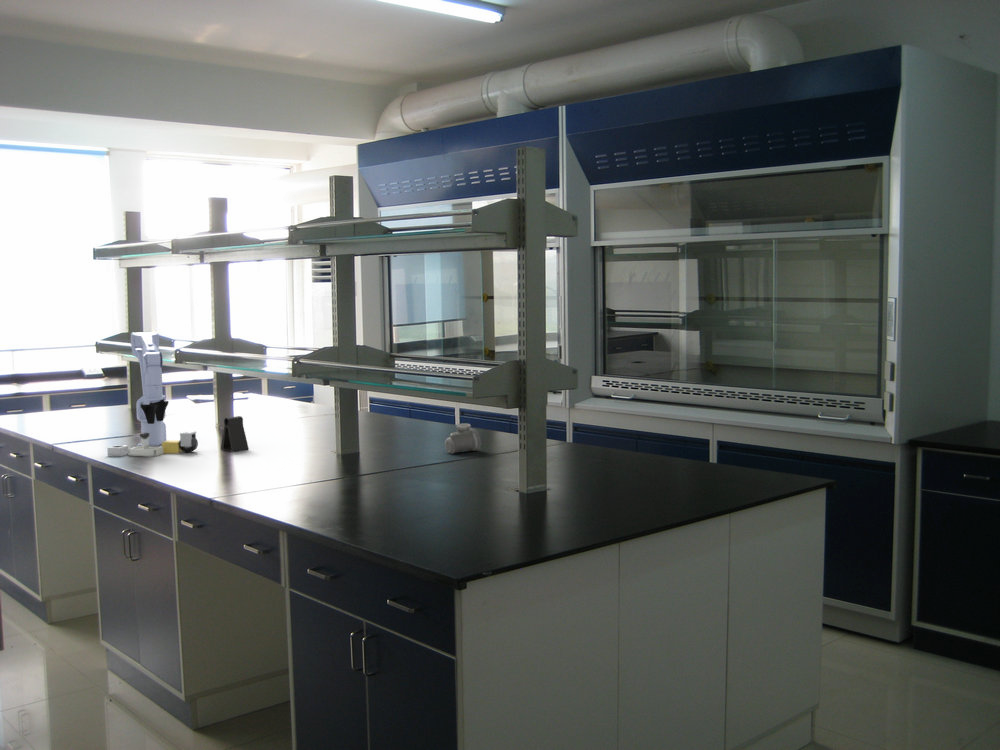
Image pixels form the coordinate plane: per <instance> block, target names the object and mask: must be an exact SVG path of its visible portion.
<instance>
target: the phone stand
mask: <svg viewBox="0 0 1000 750" xmlns="http://www.w3.org/2000/svg"><path fill="white" fill-rule="evenodd" d="M223 423H224V426H223V431H222V437H221V444H220V450H222V451H227V452H232V453H235V452H242V451H243V452H244V451H248V450H249V449H250V448H249V445H248V444H249V443H248V441H247V436H246V431H245V428H244V418H243V416H241V415H240V416H239V415H237V416H231V417H225V418H224V419H223Z"/></svg>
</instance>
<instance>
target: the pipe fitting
mask: <svg viewBox="0 0 1000 750" xmlns="http://www.w3.org/2000/svg"><path fill="white" fill-rule="evenodd" d="M471 427H472V426H471V424H470V423H463V422H462V423H458V424H457V425H456V430H457V431H455V432H451V433H450V435H449V437H447V438H446V439H445V440H444V448H445V451H446V452H447V453H448V454H451V455H453V454H456V453H460V452H461V453H462V452H463V451H470V452H475V451H478V450H479V449H480V448H481V444H482V443H481V442H482V441H481V437H480V434H479V432H478V431H477V430H476V429H475V428H471Z"/></svg>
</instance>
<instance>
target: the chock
mask: <svg viewBox="0 0 1000 750" xmlns="http://www.w3.org/2000/svg"><path fill="white" fill-rule="evenodd" d="M179 441H180V440H170V439H169V440H167V439H166V441H164V442H162V444H161V447H163V448H164V453H163V454H179V453H180V454H181V453H182V452H183V451H182V450H181V449H180V447H179Z"/></svg>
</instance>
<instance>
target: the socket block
mask: <svg viewBox="0 0 1000 750" xmlns="http://www.w3.org/2000/svg"><path fill="white" fill-rule="evenodd" d="M128 449H129V445H128V444H127V445H124V444H114V445H111V446H109V447H107V456H108V457H123V456H125V455H129V453H128Z"/></svg>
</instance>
